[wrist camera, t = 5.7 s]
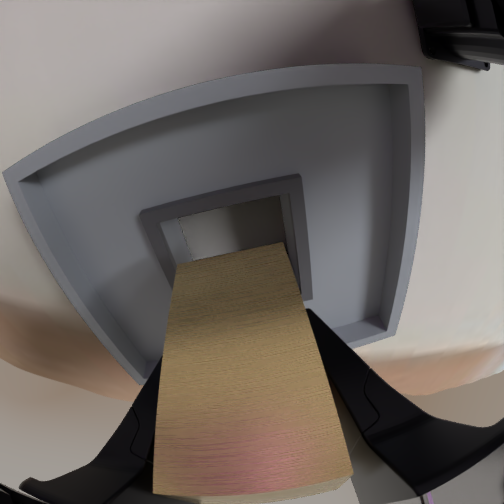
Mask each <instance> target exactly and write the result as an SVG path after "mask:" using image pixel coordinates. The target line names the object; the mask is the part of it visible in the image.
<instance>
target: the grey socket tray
mask: <svg viewBox="0 0 504 504" xmlns="http://www.w3.org/2000/svg"><path fill="white" fill-rule="evenodd" d="M424 165H425V106H424V90H423V78H422V68H421V67H416V66H405V65H392V64H367V63H346V64H320V65H306V66H295V67H286V68H278V69H270V70H263V71H257V72H251V73H245V74H240V75H234V76H230V77H225V78H220V79H216V80H211V81H207V82H203V83H199V84H195V85H192V86H188V87H184V88H181V89H177V90H174V91H171V92H167V93H164V94H161V95H158V96H155V97H152V98H149V99H146V100H143V101H140V102H138V103H135V104H132V105H130V106H127V107H124V108H122V109H119V110H117V111H114V112H112V113H110V114H107V115H105V116H103V117H100V118H98V119H96V120H94V121H91V122H89V123H87V124H85V125H83V126H81V127H79V128H77V129H75V130H73V131H71V132H69V133H67V134H65V135H63V136H61V137H59V138H57V139H55V140H54V141H52V142H50V143H48V144H46V145H45V146H43V147H41V148H39V149H38V150H36V151H34V152H33V153H31V154H29V155H28V156H26V157H25V158H23V159H21V160H20V161H18V162H17V163H15V164H14V165H12V166H11V167H9V168H8V169H6V170H5V171H4V172H2V174H3V177H4V179H5V182H6V184H7V187H8V189H9V192H10V194H11V196H12V199H13V201H14V203H15V205H16V208H17V210H18V212H19V214H20V216H21V218H22V220H23V222H24V224H25V226H26V228H27V230H28V232H29V234H30V236H31V238H32V240H33V242H34V244H35V245H36V247H37V249H38V251H39V253H40V254H41V256H42V258H43V260H44V261H45V263H46V265H47V266H48V268H49V270H50V271H51V273H52V274H53V276H54V278H55V279H56V281H57V282H58V284H59V285H60V287H61V289H62V290H63V292H64V293H65V295H66V296H67V297H68V299H69V300H70V302H71V303H72V305H73V306H74V307H75V309H76V310H77V312H78V313H79V314H80V316H81V317H82V318H83V320H84V321H85V322H86V324H87V325H88V326H89V328H90V329H91V330H92V332H93V333H94V334H95V335H96V337H97V338H98V339H99V340H100V342H101V343H102V344H103V345H104V346H105V348H106V349H107V350H108V351H109V352H110V354H111V355H112V356H113V357H114V358H115V359H116V360H117V362H118V363H119V364H120V365H121V366H122V367H123V368H124V369H125V370H126V372H127V373H128V374H129V375H130V376H131V377H132V378H133V379H134V380H135V381H136V382H137V383H138V384H139V385H144V384H145V383H146V381H147V379H148V378H149V376H150V374H151V373H152V371H153V369H154V368H155V366H156V365H157V363H158V361H159V360H160V358H161V356H162V355H163V350H164V343H165V336H166V329H167V322H168V316H169V309H170V303H171V297H172V291H173V286H174V280H175V275H176V269H177V264H181V263H186V262H191V261H193V259H192V257H191V254H190V251H189V249H188V246H187V243H186V241H185V238H184V235H183V232H182V230H181V227H180V224H179V221H178V218H179V217H183V216H187V215H192V214H196V213H200V212H204V211H208V210H212V209H217V208H221V207H225V206H230V205H234V204H239V203H243V202H248V201H253V200H257V199H262V198H267V197H272V196H277V195H279V196H280V202H281V208H282V215H283V221H284V228H285V234H286V241H287V248H288V255H289V256H288V258H289V261H290V264H291V267H292V270H293V273H294V276H295V279H296V282H297V285H298V288H299V291H300V294H301V297H302V300H303V303H304V306H305V309H306V308H310V309H312V310H313V311H314V312H315V313H316V314H317V315H318V316H319V317H320V318H321V319H322V320H323V321H324V322H325V323H326V324H327V325H328V326H329V327H330V328H331V329H332V330H333V331H334V332H335V333H336V334H337V335H338V336H339V337H340V338H341V339H342V340H343V341H344V342H345V343H346V344H347V345H348V346H349V347H350V348H351V349H353V348H357V347H360V346H363V345H366V344H370V343H373V342H376V341H379V340H382V339H385V338H388V337H391V336H394V335H395V334H396V330H397V327H398V324H399V320H400V316H401V313H402V309H403V305H404V301H405V297H406V293H407V288H408V284H409V279H410V275H411V270H412V265H413V260H414V254H415V248H416V242H417V236H418V229H419V222H420V214H421V205H422V194H423V182H424Z"/></svg>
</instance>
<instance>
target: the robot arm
mask: <svg viewBox="0 0 504 504" xmlns="http://www.w3.org/2000/svg"><path fill="white" fill-rule="evenodd" d="M413 4H414V8H415V13H416V17H417V22H418V27H419V32H420V38H421V44H422V50H423V53H424V55H425V56H426V57H427V58H429V59H435V60H441V61H446V62H451V63H456V64H461V65H465V66H469V67H473V68H477V69H481V70H485V71H488V70H489V69H490V63H495V64H500V65H504V0H413ZM430 49H431V51H432V53H430V51H429V50H430ZM306 312H307V315H308V318H309V321H310V325H311V328H312V331H313V334H314V337H315V340H316V343H317V347H318V350H319V353H320V356H321V360H322V363H323V366H324V369H325V373H326V376H327V379H328V383H329V386H330V389H331V393H332V396H333V400H334V403H335V407H336V410H337V414H338V417H339V421H340V424H341V428H342V431H343V435H344V439H345V442H346V446H347V450H348V453H349V457H350V461H351V465H352V469H353V473H354V474H353V475H352V476H351V477H350V478H351V480H352V483H353V486H354V488H355V492H356V494H357V497H358V500H359V503H360V504H504V418H502V419H501V420H500V421H499V422H498V423H496V424H495V425H492V426H489V427H476V426H471V425H466V424H461V423H456V422H452V421H448V420H443V419H440V418H436V417H434V416H431V415H429V414H428V413H426V412H425V411H423V410H422V409H420V408H419V407H418V406H416V405H415V404H413V403H412V402H411V401H409V400H408V399H407V398H405V397H404V396H403V395H401V394H400V393H399V392H397V391H396V390H395V389H394V388H392V387H391V386H390V385H389V384H387V383H386V382H385V381H384V380H383V379H382V378H381V377H380V376H379V375H378V374H377V373H376V372H375V371H374V370H373V369H372V368H370V367H369V366H368V365H367V364H366V363H365V362H364V361H363V360H362V359H361V358H360V357H359V356H358V355H357V354H356V353H355V352H354V351H353V350H352V349H351V348H350V347H349V346H348V345H347V344H346V343H345V342H344V341H343V340H342V339H341V338H340V337H339V336H338V335H337V334H336V333H335V332H334V331H333V330H332V329H331V328H330V327H329V326H328V325H327V324H326V323H325V322H324V321H323V320H322V319H321V318H320V317H319V316H318V315H317V314H316V313H315V312H314V311H313V310H312V309H310V308H306ZM162 358H163V355H162V356H161V358H160V360H159V361H158V363H157V365H156V366H155V368H154V369H153V371H152V373H151V374H150V376H149V378H148V379H147V381H146V383H145V384H144V386H143V388H142V389H141V391H140V393H139V394H138V396H137V398H136V399H135V401H134V403H133V404H132V407H131V408H130V409H129V411H128V413H127V414H126V416H125V417H124V419H123V421H122V422H121V424H120V425H119V427H118V428H117V430H116V431H115V432H114V434H113V435H112V437H111V438H110V439H109V441H108V442H107V443H106V445H105V446H104V447H103V449H102V450H101V451H100V453H99V454H98V455H97V457H96V458H95V459H94V460H93V461H91V462H90V463H89V464H87V465H85V466H83V467H81V468H79V469H76V470H74V471H72V472H70V473H67V474H65V475H63V476H60V477H58V478H55V479H52V480H49V481H38V480H36V479H34V478H31V477H30V478H28V479H26V480H25V481H23V482H22V483H21V484H20V486H19V489H21V490H22V491H24V492H26V493H28V494H30V495H32V496H34V497H36V498H38V499H40V500H38V499H36V498H33V497H31V496H28V495H26V494H23V493H21V492H19V491H16V490H14V489H12V488H10V487H8V486H6V485H3V484H1V483H0V504H197V503H192V502H187V501H182V500H177V499H173V498H169V497H165V496H161V495H157V494H153V468H154V445H155V429H156V416H157V404H158V394H159V384H160V375H161V366H162ZM41 500H42V501H41Z"/></svg>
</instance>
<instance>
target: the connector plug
mask: <svg viewBox="0 0 504 504" xmlns="http://www.w3.org/2000/svg"><path fill="white" fill-rule="evenodd" d="M353 474H354V473H353V469H352V465H351V461H350V457H349V453H348V450H347V446H346V442H345V439H344V435H343V431H342V428H341V424H340V421H339V417H338V414H337V410H336V407H335V403H334V400H333V396H332V393H331V389H330V386H329V383H328V379H327V376H326V373H325V369H324V366H323V363H322V360H321V356H320V353H319V350H318V347H317V343H316V340H315V337H314V334H313V331H312V328H311V325H310V321H309V318H308V315H307V312H306V309H305V306H304V303H303V300H302V297H301V294H300V291H299V288H298V285H297V282H296V279H295V276H294V273H293V270H292V267H291V264H290V261H289V258H288V255H287V253H286V250H285V247H284V244H283V242H280V243H275V244H270V245H266V246H261V247H256V248H252V249H247V250H242V251H237V252H233V253H228V254H223V255H219V256H214V257H209V258H205V259H200V260H195V261H191V262H186V263H181V264H177V269H176V275H175V280H174V286H173V291H172V297H171V303H170V309H169V316H168V322H167V329H166V336H165V343H164V350H163V358H162V366H161V375H160V384H159V394H158V404H157V416H156V429H155V445H154V468H153V494H157V495H161V496H165V497H169V498H173V499H177V500H182V501H187V502H192V503H197V504H258V503H267V502H275V501H282V500H289V499H295V498H300V497H305V496H310V495H315V494H320V493H324V492H328V491H332V490H336V489H338V488H339V487H340V486H341V485H342V484H343V483H345V482H346V481H347V480H348V479H349V478H350V477H351V476H352V475H353Z"/></svg>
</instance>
